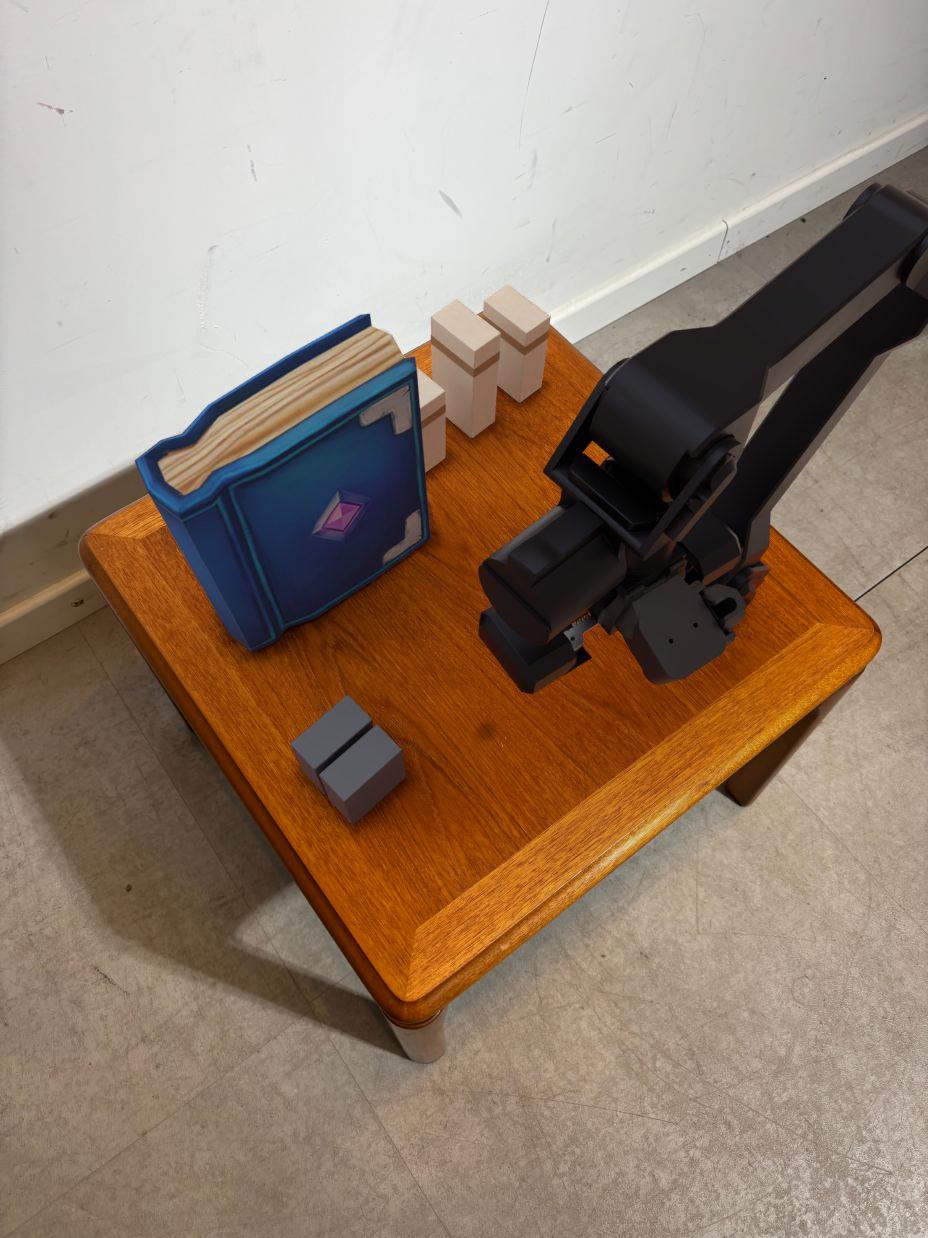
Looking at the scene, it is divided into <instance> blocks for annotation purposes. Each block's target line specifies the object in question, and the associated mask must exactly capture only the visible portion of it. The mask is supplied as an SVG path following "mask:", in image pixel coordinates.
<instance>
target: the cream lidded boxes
mask: <svg viewBox="0 0 928 1238" xmlns="http://www.w3.org/2000/svg"><path fill="white" fill-rule="evenodd" d="M551 317H552V316H551V315H550V314H549V313H548V312H546V310H544V309H542V308H541V307H540V306H538V305H537V304H536V303H534V302H533V301H531V300H530V299H529V298H527V297H526V296H525V295H524V294H522V293H521V292H520V291H518V290H517V289H516V288H514V287H513V286H512V285H510V284H509V283H507V284H505V285H504V286H502V287H501V288H499V289H498V290H497V291H495V292H493V293H492V294H491V295H488V296H487V297H486V298H485V299H483V307H482V319H483V320H485V321H486V322H487V323H489V324H490V325H491V326H493V327H494V328H495V329H496V330H498V331H499V332H500V333H501V337H500V358H499V366H498V381H497V387H499V388H500V389H501V390H502V391H504V392H505V393H506V394H507V395H508V396H510V397H511V398H512V399H513V400H515V401H516V402H517V403H520V404H521V403H522V402H523V401H524V400H526V399H527V398H529V397H531V395H533V394H534V393H535V392H536V391H538V390H539V389H541V388H542V386H543V379H544V370H545V365H546V364H545V363H546V357H547V348H548V341H549V336H550V325H551V319H552V318H551ZM404 358H406V356H404ZM417 376H418V388H419V400H420V413H421V425H422V437H423V449H424V462H425V474H426V473H427V472H429V471H430V470H432V469H433V468H434V467H435V466H437V465H438V464H439V463H441V462H442V461H443V460H445V459H446V458H447V456H446V455H447V454H446V453H447V449H446V446H447V445H446V444H447V443H446V439H447V437H446V417H445V412H446V404H445V390H444V389H442V388H441V387H440V386H439V385H438V384H436V383H435V382H434V381H433V380H432V378H430V377H429V375H427V374H426V373H425V372H424V371H422V370H421V369H420V368H419V367H417Z"/></svg>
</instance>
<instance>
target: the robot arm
mask: <svg viewBox="0 0 928 1238" xmlns="http://www.w3.org/2000/svg"><path fill="white" fill-rule="evenodd" d="M927 336H928V198H927V197H925V196H923V195H921V194H920V193H918V192H917V191H915V190H913V189H909V190H903V189H902V188H900V187H899V186H897V185H895V184H893V183H888V184H884V183H883V182H879V181H874V182H873V183H872V184H870V185H869V186H868V185H867V187H866V188H865V189H864V190H863V191H862V192H861V193H860V194H859V195H858V196H857V198H856V199H855V200H854V201H853V202H852V204H851V205H850V207H849V208H848V210H847V211H846V212H845V214H844V216H843V218H842V220H841V221H840V222H839V223H838V224H836V225H835V226H834V227H833V228H832V229H830V230H829V231H827V233H825V234H824V235H823V236H822V237H821V238H820V239H818V240H817V241H815V243H813V244H812V245H811V246H810V247H808V248H807V249H806V250H804V252H802V253H801V254H800V255H799V256H798V257H796V258H795V259H794V260H793V261H792V262H790V263H788V265H786V267H784V268H783V269H782V270H780V272H778V273H777V274H776V275H775V276H773V277H772V278H770V279H769V280H768V281H767V282H766V283H765V284H764V285H763V286H761V287H760V288H759V289H758V290H756V291H755V292H753V294H751V295H750V296H749V297H748V298H746V300H744V301H743V302H742V303H740V304H739V305H738V306H736V308H734V309H733V310H732V311H731V312H730V313H729V314H727V315H725V316H724V317H723V318H722V319H720V320H719V321H717V322H716V323H714V324H713V325H709V326H700V327H694V328H693V327H692V328H683V329H674V330H670V331H668V332H666V333H665V334H663V335H662V336H660V337H658V338H657V339H656V340H654V341H653V342H651V343H650V344H648V345H646V346H645V347H643V348H642V349H641V350H639V351H637V352H636V353H635V354H633V355H632V356H630V357H624V358H621V360H618V361H616V363H615V364H613V365H612V366H611V367H610V368H609V369H607V371H606V372H605V373H604V374H603V375H602V376H601V378H600V379H599V381H598V382H597V383H596V385H595V386H594V388H593V389H592V391H591V393H590V394H589V396H588V397H587V399H586V400H585V402H584V403H583V405H582V407H581V409H580V410H579V411H578V413H577V415H576V417H575V418H574V419H573V421H572V423H571V424H570V426H569V428H567V431H566V432H565V434H564V436H563V437H562V439H561V440H560V442H559V443H558V445H557V447H556V448H555V450H554V452H553V453H552V455H551V456H550V458H549V459H548V461H547V462H546V464H545V466H544V467H543V469H542V473H543V474H544V475H545V476H546V477H547V478H548V479H550V481H552V482H553V483H554V484H555V485H556V486H557V487H559V489H561V493H560V498H559V501H558V504H555V506H553V507H552V508H551V509H549V510H548V511H547V512H545V513H544V514H543V515H541V516H540V517H539V518H538V519H536V520H535V521H534V522H532V523H531V524H529V526H527V527H526V528H524V529H523V530H522V531H521V532H519V533H518V534H517V535H515V536H514V537H512V538H511V540H509V541H508V542H506V543H505V544H503V545H502V546H501V547H500V548H498V549H497V550H496V551H494V552H493V553H491V554H490V555H489V556H488V557H486V558H485V559H484V560H483V561H482V562H481V563H480V565H478V567H477V568H478V569H477V573H478V574H477V575H478V580H479V583H480V586H481V589H482V590H483V592H484V594H485V597H486V599H487V600H488V602H489V604H490V606H489V607H487V608H486V609H483V611H481V612H480V615H479V621H478V628H477V629H478V631H477V636H478V637H479V638H480V640H481V641H482V643H483V644H484V645H485V646H486V648H487V649H488V650H489V652H490V653H491V654H492V656H493V657H494V658H495V660H496V661H497V662H498V663H499V665H500V666H501V667H502V669H503V670H504V672H505V673H506V674H507V676H508V677H509V678H510V680H511V681H512V682H513V683H514V685H515V686H516V687H517V689H518V690H519V691H520V693H523V694H527V695H535V694H537V693H538V692H540V691H541V690H543V689H544V688H546V687H547V686H549V685H551V684H552V683H553V682H555V681H557V680H559V679H560V678H562V677H564V676H566V675H567V674H569V673H571V672H572V671H574V670H575V669H577V668H579V667H580V666H582V665H583V664H585V663H587V662H588V661H589V660H591V659H592V656H591V655H590V653H589V652H588V650H587V649H586V648H585V647H584V646H583V644H584V634H587V632H590V631H591V630H593V629H594V628H595V627H597V626H600V627H601V628H602V629H603V631H604V632H605V633H606V634H607V635H608V637H611V636H613V635H614V634H615V633H617V632H619V634H620V635H621V636H622V639H623V641H624V642H625V644H626V646H627V647H628V649H629V651H630V652H631V654H632V655H633V657H634V659H635V660H636V662H637V663H638V665H639V667H640V668H641V670H642V674H643V676H644V677H645V679H646V680H647V681H648V682H649V683H650V684H652V685H654V686H662V685H666V684H671V683H674V682H678V681H681V680H684V679H686V678H688V677H690V676H691V675H693V674H694V673H695V672H697V671H698V670H700V669H702V668H703V667H704V666H707V664H709V663H711V662H712V661H714V660H715V659H716V658H718V657H719V656H721V655H722V654H723V653H724V652H725V650H726V648H727V646H729V644H731V643H732V642H734V641H735V640H736V638H737V637H738V636H737V634H736V632H735V631H734V628H735V626H737V625H738V624H739V623H741V622H742V621H743V618H744V615H745V613H746V610H747V607H749V605H750V604H752V602H753V600H754V599H755V597H756V595H757V589H758V588H759V587H761V585H762V584H764V582H765V581H766V580H765V578H766V576H767V575H768V574H769V573H770V571H771V568H770V567H769V566H768V565H766V564H765V563H764V562H763V561H761V558H762V557H763V556H764V554H765V553H766V552H767V551H768V549H769V548H770V543H771V542H770V539H771V538H770V537H771V517H772V516H771V515H772V511H773V509H774V508H775V507H776V505H777V504H778V503H779V502H780V500H781V499H782V497H784V495H785V493H786V492H787V491H788V490H789V489H790V487H791V486H792V484H793V483H794V481H795V480H796V479H797V478H798V476H799V475H800V474H801V473H802V471H803V470H804V468H805V467H806V466H807V464H808V463H809V462H810V461H811V459H812V458H813V457H814V455H815V454H816V453H817V452H818V450H819V449H820V448H821V446H822V445H823V443H824V442H825V441H826V439H827V438H828V436H829V435H830V434H831V433H832V432H833V430H834V429H835V428H836V426H837V425H838V424H839V422H840V421H841V420H842V418H843V417H844V416H845V414H846V413H847V411H848V410H849V409H850V408H851V406H852V405H853V403H854V402H855V401H856V399H858V398H859V396H860V394H861V393H862V392H863V390H864V389H865V388H866V387H867V386H868V384H869V382H870V381H871V380H872V379H873V377H875V375H876V373H877V372H878V371H879V370H880V368H881V367H882V365H883V364H884V363H885V362H886V361H887V359H888V358H889V356H890V355H891V354H892V353H893V352H895V351H897V350H899V349H901V348H903V347H905V346H907V345H909V344H912V343H913V342H917V341H919V340H920V339H922V338H924V337H927ZM788 380H789V382H788V383H787V385H786V386H785V387H784V389H783V390H782V392H781V393H780V395H779V396H778V398H777V399H776V401H775V402H774V403H773V404H772V406H771V408H770V410H769V411H768V412H767V414H766V415H765V416H764V418H763V419H762V421H761V422H760V424H759V425H758V427H757V428H756V430H755V431H754V433H752V436H751V437H750V438H749V436H750V433H751V431H752V427H753V425H754V422H755V420H756V417H757V414H758V412H759V410H760V406H761V405H762V404H763V403H764V402H765V401H766V400H767V399H768V398H770V396H771V395H773V394H774V393H775V392H776V391H777V390H778V389H779V388H780V387H782V386H783V385H784V384H785V383H786V382H787V381H788ZM748 439H749V440H748ZM592 443H594V444H595V445H596V446H597V447H599V448H600V449H601V450H602V451H604V453H606V454H607V455H608V456H607V457H606V458H605V459H604V460H603V461H601V463H600V464H598V463H597V462H596V461H595V460H594V459H592V458H591V456H588V455H587V454H586V453H585V451H586V450H587V448H588V447H589V446H590V445H591V444H592Z"/></svg>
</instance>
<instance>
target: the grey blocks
mask: <svg viewBox="0 0 928 1238" xmlns="http://www.w3.org/2000/svg"><path fill="white" fill-rule="evenodd" d="M289 745H290V747H291V749H292V751H293V753H294V755H295V758H296V760H297V762H298V764H299V767H300V769H301V771H302V772H303V773H304V775H305V776H306V777H307V778H308V779H309V780H310V781H311V783H312V784H314V785H315V786H316V788H317V789H318V790H319V791H320V792H321V793H322V794H323V796H327V797H328V800H329V802H330V803H331V804H332V805H333V806H334V808H336V810H338V811H339V813H340V814H341V815H342V816H343V817H344V818H345V819H346V820H347V821H348V822H349V823H350V825H352V826H354V825H355V824H357V822H359V821H360V820H361V819H362V818H363V817H364V816H365V815H366V814H368V812H370V811H371V810H372V809H373V808H374V807H375V806H376V805H377V804H378V803H380V802H381V801H382V800H383V799H384V798H385V797H386V796H387V795H389V794H390V793H391V791H393V790H394V789H395V788H396V787H397V786H398V785H399V784H401V782H402V781H404V780H405V778H407V775H406V774H407V773H406V768H405V759H404V754H403V748H402V747H400V746H399V745H398V744H397V743H396V742H395V740H394V739H392V738H391V737H390V735H388V733H387V732H386V731H384V729H382V727H381V726H379V724H375V725H374V722H373V718H372V717H371V716H370V715H369V714H368V713H367V712H366V711H365V710H364V709H363V708H362V707H361V706H360V705H359V704H358V703H357V702H356V700H354V699H353V698H352V697H351V696H350V694H346V695H345V696H344V697H343V698H342V699H341V700H340V701H338V702H337V703H336V704H335V705H333V706H332V707H331V708H330V709H329V710H328V711H326V712H325V713H324V714H323V715H321V716H320V718H318V719H317V720H316V721H314V723H312V724H311V725H310V726H309V727H308V728H307V729H305V730H304V731H303V732H302V733H300V734H299V735H298V736H297V737H296V738H295V739H293V740H292V741H291V742H290V743H289Z"/></svg>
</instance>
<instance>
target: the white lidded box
mask: <svg viewBox="0 0 928 1238" xmlns="http://www.w3.org/2000/svg"><path fill="white" fill-rule="evenodd" d="M500 337H501V333H500V332H499V331H498V330H496V329H495V328H494V327H493V326H491V325H490V324H489V323H487V322H486V321H485V320H483V317H481V316H480V315H478V313H476V312H474V311H473V310H472V309H471V308H470V307H468V306H467V305H465V304H464V303H463V302H462V301H461V300H459V299H458V298H455V299H454V300H452V301H451V302H450V303H448V304H447V305H445V306H444V307H442V308H441V309H439V310H438V311H436V312H434V313H433V314H432V315H430V346H431V349H430V351H431V352H430V353H431V379H432V380H433V381H434V382H435V383H436V384H438V385H439V386H440V387H441V388H442V389H444V390H445V404H446V412H445V418H447V419H448V421H450V422H451V423H452V424H454V425H455V426H456V427H457V428H459V430H461V431H462V432H463V433H464V434H466V435H467V436H468V438H470V439H473V438H474V437H476V436H478V435H479V434H480V433H481V432H483V431H484V430H485V429H487V428H488V427H490V426H491V425H492V424H493V423H495V422H496V409H497V396H498V395H497V394H498V385H497V381H498V366H499V358H500Z"/></svg>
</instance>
